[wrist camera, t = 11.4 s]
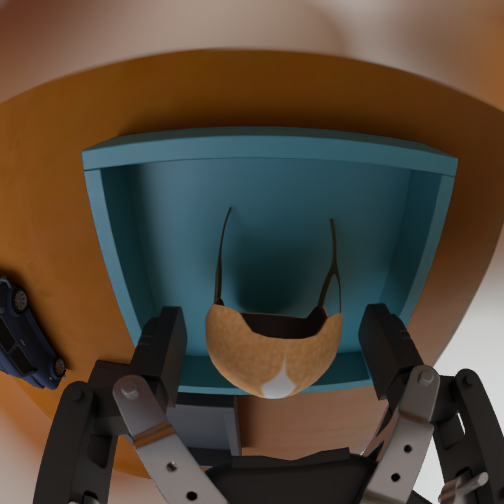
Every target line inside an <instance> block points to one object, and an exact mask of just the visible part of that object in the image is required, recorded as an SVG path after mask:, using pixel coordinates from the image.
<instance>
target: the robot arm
mask: <svg viewBox="0 0 504 504" xmlns="http://www.w3.org/2000/svg"><path fill="white" fill-rule="evenodd" d="M358 339H359V343H360V346H361V349H362V352H363V355H364V358H365V360H366V363H367V366H368V369H369V372H370V375H371V378H372V382H373V385H374V388H375V391H376V394H377V397H378V401H379V400H385V399H388V402H389V404H388V405H387V407H386V410H385V412H384V414H383V417H382V419H381V421H380V423H379V426H378V428H377V430H376V432H375V434H374V436H373V438H372V440H371V442H370V444H369V445H368V446H367V448H366V449H365V451H364V453H363V454H362V455H359V454H353V453H350V452H349V447H347V448H340V449H334V450H327V451H321V452H318V453H315V454H312V455H309V456H306V457H303V458H300V459H297V460H293V461H289V460H283V459H277V458H271V457H266V456H232V455H231V461H229V462H225V463H221V464H218V465H216V466H214V467H212V468H210V469H208V470H206V471H205V472H204V471H203V469H202V468H201V467H200V465H199V464H198V463H197V461H196V460H195V459H194V457H193V456H192V454H191V453H190V451H189V450H188V449H187V447H186V446H185V444H184V443H183V441H182V440H181V438H180V437H179V435H178V434H177V432H176V430H175V429H174V427H173V426H172V425H171V423H170V422H169V420H168V418H167V417H166V410H167V407H169V408H175V405H176V400H177V394H178V389H179V383H180V378H181V373H182V367H183V362H184V357H185V352H186V347H187V329H186V325H185V320H184V315H183V310H182V307H181V306H163V307H162V310H161V313H160V316H159V318H158V317H151V318H150V320H149V321H148V322H147V323H146V324H145V325H144V327H143V330H142V332H141V337H140V338H139V341H138V345H137V346H136V349H135V352H134V355H133V358H132V361H131V364H130V367H129V370H128V372H127V375H126V376H124V377H122V378H120V379H119V380H118V381H117V382H116V383H115V385H114V386H110V387H104V388H95V389H92V388H91V386H90V385H89V384H87V383H86V382H83V381H76V382H73V383H71V384H69V385H68V386H67V387H66V388H65V389H64V391H63V394H62V396H61V399H60V402H59V405H58V408H57V411H56V414H55V417H54V420H53V423H52V426H51V429H50V432H49V436H48V439H47V443H46V446H45V450H44V454H43V457H42V461H41V466H40V470H39V474H38V478H37V483H36V489H35V493H34V498H33V504H107V502H108V494H109V487H110V480H111V473H112V467H113V461H114V456H115V450H116V445H117V439H118V435H123V434H131V436H132V438H133V445H134V447H135V450H136V452H137V453H138V455H139V457H140V459H141V461H142V463H143V464H144V466H145V468H146V470H147V471H148V473H149V475H150V477H151V478H152V480H153V481H154V483H155V485H156V486H157V488H158V490H159V491H160V493H161V494H162V496H163V497H164V499H165V500H166V502H167V503H168V504H432V503H431V502H429V501H428V500H426V499H425V498H423V497H422V496H421V495H419V494H418V493H416V492H415V491H414V490H412V489H413V486H414V484H415V482H416V479H417V477H418V474H419V472H420V469H421V467H422V464H423V461H424V458H425V456H426V453H427V449H428V447H429V444H430V440H431V437H432V435H433V439H434V442H435V446H436V450H437V454H438V457H439V461H440V466H441V469H442V474H443V479H444V483H445V485H444V487H443V488H442V491H441V494H440V495H439V497H438V502H439V503H440V504H504V436H503V434H502V431H501V428H500V425H499V423H498V420H497V417H496V415H495V412H494V410H493V407H492V405H491V403H490V400H489V398H488V396H487V393H486V391H485V389H484V387H483V384H482V382H481V380H480V378H479V376H478V375H477V374H476V373H475V372H474V371H472V370H470V369H462V370H460V371H459V372H458V373H457V374H456V376H455V377H454V376H443V375H439V374H438V373H437V371H436V370H435V369H434V368H432V367H431V366H428V365H424V363H423V361H422V359H421V357H420V355H419V353H418V351H417V349H416V347H415V345H414V343H413V341H412V339H411V338H410V335H409V333H408V332H407V329H406V327H405V325H404V323H403V321H402V320H401V319H400V318H399V317H398V316H397V315H395V314H390V312H389V310H388V308H387V306H386V304H385V303H375V304H368V305H367V306H366V308H365V311H364V314H363V317H362V320H361V323H360V326H359V330H358ZM458 413H459V414H460V417H461V419H462V422H463V425H464V428H465V435H464V432H463V429H462V426H461V423H460V420H459V417H458Z"/></svg>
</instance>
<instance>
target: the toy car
mask: <svg viewBox="0 0 504 504" xmlns="http://www.w3.org/2000/svg"><path fill="white" fill-rule="evenodd" d="M6 278H7V276H2V277H1V278H0V281H2V282H0V370H1V371H3V372H5V373H6V374H9V375H12V376H15V377H18V378H22V379H23V380H26V381H27V382H28V383H30V384H31V385H33V386H35V387H38V388H41V389H44V387H45V386H46V387H47V388H49V389H51V390H55V389H57V387H58V385H59V383H60V381H61V379H62V378H66V376H65V372H66V370H65V363H64V360H63V359H62V358H61V357H58V356H56V354H55V353H54V351H53V350H52V348H51V346H50V345H49V343H48V342H47V340H46V338H45V337H44V335H43V333H42V331H41V330H40V328H39V326H38V324H37V323H36V321H35V319H34V317H33V315H32V313H31V311H30V309H29V307H27V302H28V299H27V294H26V292H25V291H24V290H23V289H21V288H15V285H12V284H10V282H9V281H8V280H7V279H6Z"/></svg>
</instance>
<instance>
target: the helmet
mask: <svg viewBox="0 0 504 504" xmlns="http://www.w3.org/2000/svg"><path fill="white" fill-rule="evenodd" d="M230 211H231V207H230V208H229V210H228V213H227V215H226V218H225V221H224V225H223V230H222V235H221V241H220V247H219V254H218V262H217V268H216V274H215V293H214V302H213V304H212V306H211V307H210V309H209V311H208V313H207V315H206V317H205V337H206V346H207V350H208V353H209V355H210V358H211V360H212V362H213V364H214V365H215V367H216V368H217V369H218V371H219V372H220V373H221V374H222V375H223V376H224V377H225V378H226V379H227V380H228V381H230V382H231V383H232V384H233V385H235V386H237V387H238V388H240V389H242V390H244V391H246V392H248V393H250V394H253V395H256V396H259V397H263V398H270V399H276V398H284V397H287V396H291V395H294V394H296V393H298V392H300V391H302V390H304V389H306V388H307V387H309V386H310V385H312V384H313V383H314V382H316V381H317V380H318V379H319V378H320V377H321V376H322V375H323V374H324V373H325V372H326V370H327V369H328V368H329V366H330V365H331V363H332V361H333V360H334V358H335V356H336V353H337V350H338V347H339V344H340V339H341V334H342V323H343V319H342V313H341V285H340V276H339V271H338V266H337V243H336V231H335V225H334V221H333V218H332V219H330V225H331V230H332V239H333V258H332V264H331V267H330V270H329V272H328V274H327V276H326V278H325V281H324V283H323V286H322V289H321V293H320V297H319V301H318V305H317V306H316V307H315V308H314V309H313V310H312V312H311V313H310V314H309V315H308V317H307V318H301V317H294V316H286V315H276V314H263V313H243V312H237V311H235V310H233V309H231V308H229V307H225V306H224V302H223V300H222V299H221V290H222V261H221V250H222V242H223V236H224V231H225V226H226V223H227V219H228V217H229V214H230ZM334 274H335V275H336V277H337V280H338V284H339V299H340V313H338V314H334V315H331V316H329V315H328V312H327V310H326V308H325V307H324V306H323V305H324V300H325V296H326V293H327V290H328V287H329V284H330V281H331V279H332V276H333V275H334ZM217 281H218V284H217Z"/></svg>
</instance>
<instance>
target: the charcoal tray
mask: <svg viewBox="0 0 504 504" xmlns="http://www.w3.org/2000/svg"><path fill="white" fill-rule="evenodd" d="M129 367H130V365H122V364H115V363H109V362H103V361H96V363H95V366H94V368H93V370H92V373H91V375H90V377H89V380H88V382H87V384H89V385H90V386H91V388H92V389H95V388H104V387H110V386H114V385H115V383H116V382H117V381H118V380H119V379H120V378H122V377H124V376H126V375H127V372H128V370H129ZM166 417H167V418H168V420H169V422H170V423H171V425H172V426H173V427H174V429H175V430H176V432H177V434H178V435H179V437H180V438H181V440H182V441H183V443H184V444H185V446H186V447H187V449H188V450H189V451H190V453H191V454H192V456H193V457H194V459H195V460H196V461H197V463H198V464H199V465H200V467H204V468H212V467H214V466H216V465H218V464H221V463H225V462H229V461H231V455H232V456H242V446H241V436H240V425H239V414H238V402H237V395H230V394H205V393H189V392H178V394H177V400H176V405H175V408H169V407H167V410H166ZM123 436H124V437H125V438H126V439H127V440H128V441H129V442H130V443H131V444H132V445H133V438H132V436H131V434H123ZM133 446H134V445H133Z"/></svg>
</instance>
